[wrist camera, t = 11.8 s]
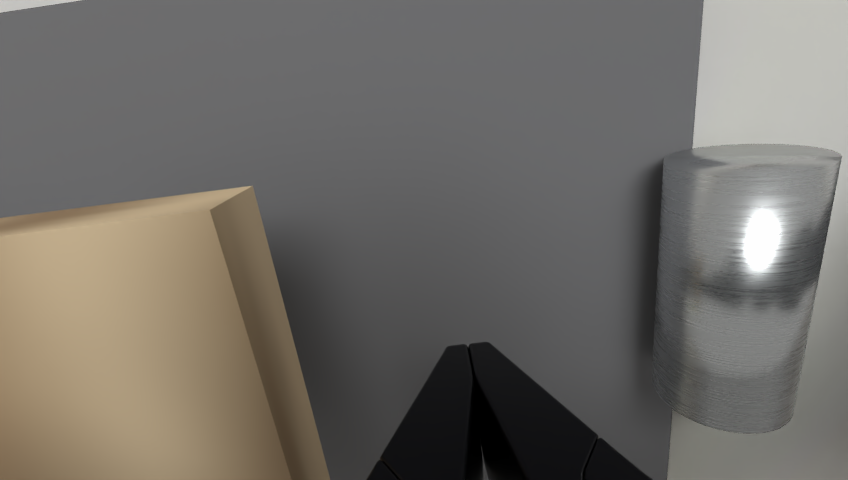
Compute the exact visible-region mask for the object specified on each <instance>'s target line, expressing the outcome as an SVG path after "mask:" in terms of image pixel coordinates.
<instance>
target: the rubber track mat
mask: <svg viewBox="0 0 848 480" xmlns="http://www.w3.org/2000/svg"><path fill="white" fill-rule="evenodd" d="M703 1H704V0H82V1H75V2H69V3H62V4H55V5H49V6H42V7H36V8H29V9H22V10H16V11H9V12H3V13H0V218H4V217H12V216H19V215H27V214H35V213H43V212H51V211H58V210H66V209H74V208H82V207H90V206H98V205H105V204H113V203H121V202H129V201H137V200H145V199H152V198H160V197H168V196H176V195H184V194H192V193H199V192H207V191H215V190H223V189H231V188H239V187H246V186H253V189H254V192H255V196H256V200H257V204H258V208H259V211H260V215H261V219H262V223H263V227H264V230H265V234H266V238H267V242H268V245H269V249H270V253H271V257H272V261H273V264H274V268H275V272H276V276H277V280H278V283H279V287H280V291H281V295H282V299H283V302H284V306H285V310H286V314H287V317H288V321H289V325H290V329H291V333H292V336H293V340H294V344H295V348H296V352H297V355H298V359H299V363H300V367H301V371H302V374H303V378H304V382H305V386H306V389H307V393H308V397H309V401H310V405H311V408H312V412H313V416H314V420H315V424H316V427H317V431H318V435H319V439H320V443H321V446H322V450H323V454H324V458H325V461H326V465H327V469H328V473H329V477H330V480H366V479H367V478H368V476H369V474H370V473H371V471H372V469H373V468H374V466H375V464H376V463H377V461H378V460H380V456H381V455H382V453H383V451H384V450H385V448H386V446H387V445H388V443H389V441H390V440H391V438H392V437H393V435H394V433H395V432H396V430H397V428H398V427H399V425H400V423H401V422H402V420H403V418H404V417H405V415H406V413H407V412H408V410H409V408H410V407H411V405H412V403H413V402H414V400H415V398H416V397H417V395H418V393H419V392H420V390H421V388H422V387H423V385H424V384H425V382H426V380H427V379H428V377H429V375H430V374H431V372H432V370H433V369H434V367H435V365H436V364H437V362H438V360H439V359H440V357H441V355H442V354H443V352H444V350H445V349H446V347H447V346H451V345H460V344H465V345H467V346H469V344H471V343H478V342H490V343H491V344H492V345H493V346H494V347H496V348H497V349H498V350H499V351H500V352H501V353H503V354H504V355H505V356H506V357H507V358H509V359H510V360H511V361H512V362H513V363H514V364H516V365H517V366H518V367H519V368H520V369H521V370H523V371H524V372H525V373H526V374H527V375H528V376H530V377H531V378H532V379H533V380H534V381H535V382H537V383H538V384H539V385H540V386H541V387H543V388H544V389H545V390H546V391H547V392H548V393H550V394H551V395H552V396H553V397H554V398H555V399H557V400H558V401H559V402H560V403H561V404H562V405H564V406H565V407H566V408H567V409H568V410H569V411H571V412H572V413H573V414H574V415H575V416H577V417H578V418H579V419H580V420H581V421H582V422H584V423H585V424H586V425H587V426H588V427H589V428H591V429H592V430H593V431H594V432H595V433H596V434H598V436H599V438H603V439H604V440H605V441H606V442H607V443H608V444H610V445H611V446H612V447H613V448H614V449H615V450H617V451H618V452H619V453H620V454H622V455H623V456H624V457H625V458H626V459H628V460H629V461H630V462H631V463H633V464H634V465H635V466H636V467H638V468H639V469H640V470H641V471H643V472H644V473H645V474H646V475H648V476H649V477H650V478H652V479H653V480H667V472H668V459H669V446H670V433H671V420H672V408H671V407H669V406H668V405H667V404H666V403H665V402H664V401H663V400H662V399H661V398H660V397H659V396H658V394H657V393H656V391H655V389H654V387H653V384H652V362H653V344H654V326H655V307H656V289H657V271H658V253H659V235H660V216H661V198H662V180H663V162H664V158H665V157H666V156H667V155H669V154H672V153H675V152H679V151H683V150H688V149H692V145H693V132H694V119H695V106H696V93H697V79H698V66H699V53H700V40H701V27H702V14H703ZM481 449H482V447H481ZM482 458H483V453H482ZM483 473H484V480H489V479H488V476H487V472H486V468H485V464H484V459H483Z"/></svg>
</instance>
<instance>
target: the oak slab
mask: <svg viewBox="0 0 848 480" xmlns="http://www.w3.org/2000/svg"><path fill="white" fill-rule="evenodd" d="M0 480H330V477H329V473H328V469H327V465H326V461H325V458H324V454H323V450H322V446H321V443H320V439H319V435H318V431H317V427H316V424H315V420H314V416H313V412H312V408H311V405H310V401H309V397H308V393H307V389H306V386H305V382H304V378H303V374H302V371H301V367H300V363H299V359H298V355H297V352H296V348H295V344H294V340H293V336H292V333H291V329H290V325H289V321H288V317H287V314H286V310H285V306H284V302H283V299H282V295H281V291H280V287H279V283H278V280H277V276H276V272H275V268H274V264H273V261H272V257H271V253H270V249H269V245H268V242H267V238H266V234H265V230H264V227H263V223H262V219H261V215H260V211H259V208H258V204H257V200H256V196H255V192H254V189H253V186H246V187H239V188H231V189H223V190H215V191H207V192H199V193H192V194H184V195H176V196H168V197H160V198H152V199H145V200H137V201H129V202H121V203H113V204H105V205H98V206H90V207H82V208H74V209H66V210H58V211H51V212H43V213H35V214H27V215H19V216H12V217H4V218H0Z"/></svg>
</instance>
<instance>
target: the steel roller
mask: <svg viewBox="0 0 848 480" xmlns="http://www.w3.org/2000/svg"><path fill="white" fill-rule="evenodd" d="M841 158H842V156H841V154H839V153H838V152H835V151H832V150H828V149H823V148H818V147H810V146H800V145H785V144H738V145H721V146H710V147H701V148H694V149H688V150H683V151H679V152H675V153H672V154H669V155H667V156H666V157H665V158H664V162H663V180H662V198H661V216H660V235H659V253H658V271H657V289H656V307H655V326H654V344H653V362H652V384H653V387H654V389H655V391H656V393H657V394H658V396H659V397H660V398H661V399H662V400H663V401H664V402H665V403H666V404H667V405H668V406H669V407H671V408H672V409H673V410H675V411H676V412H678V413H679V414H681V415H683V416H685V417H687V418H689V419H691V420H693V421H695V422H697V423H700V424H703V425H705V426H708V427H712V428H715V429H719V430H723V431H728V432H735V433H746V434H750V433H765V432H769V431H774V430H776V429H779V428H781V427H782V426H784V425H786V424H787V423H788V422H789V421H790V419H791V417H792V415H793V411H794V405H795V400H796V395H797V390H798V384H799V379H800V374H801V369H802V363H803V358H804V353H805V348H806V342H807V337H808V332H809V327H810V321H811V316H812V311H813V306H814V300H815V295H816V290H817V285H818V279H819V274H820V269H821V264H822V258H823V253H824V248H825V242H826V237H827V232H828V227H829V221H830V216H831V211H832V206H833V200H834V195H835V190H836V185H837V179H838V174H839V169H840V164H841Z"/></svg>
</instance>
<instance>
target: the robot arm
mask: <svg viewBox="0 0 848 480" xmlns="http://www.w3.org/2000/svg"><path fill="white" fill-rule="evenodd" d="M481 447H482V449H481ZM482 453H483V458H482ZM483 459H484V464H485V468H486V472H487V476H488V479H489V480H653V479H652V478H650V477H649V476H648V475H646V474H645V473H644V472H643V471H641V470H640V469H639V468H638V467H636V466H635V465H634V464H633V463H631V462H630V461H629V460H628V459H626V458H625V457H624V456H623V455H622V454H620V453H619V452H618V451H617V450H615V449H614V448H613V447H612V446H611V445H610V444H608V443H607V442H606V441H605V440H604V439H603V438H599V436H598V434H596V433H595V432H594V431H593V430H592V429H591V428H589V427H588V426H587V425H586V424H585V423H584V422H582V421H581V420H580V419H579V418H578V417H577V416H575V415H574V414H573V413H572V412H571V411H569V410H568V409H567V408H566V407H565V406H564V405H562V404H561V403H560V402H559V401H558V400H557V399H555V398H554V397H553V396H552V395H551V394H550V393H548V392H547V391H546V390H545V389H544V388H543V387H541V386H540V385H539V384H538V383H537V382H535V381H534V380H533V379H532V378H531V377H530V376H528V375H527V374H526V373H525V372H524V371H523V370H521V369H520V368H519V367H518V366H517V365H516V364H514V363H513V362H512V361H511V360H510V359H509V358H507V357H506V356H505V355H504V354H503V353H501V352H500V351H499V350H498V349H497V348H496V347H494V346H493V345H492V344H491V343H490V342H478V343H471V344H469V346H467V345H465V344H460V345H451V346H447V347H446V349H445V350H444V352H443V354H442V355H441V357H440V359H439V360H438V362H437V364H436V365H435V367H434V369H433V370H432V372H431V374H430V375H429V377H428V379H427V380H426V382H425V384H424V385H423V387H422V388H421V390H420V392H419V393H418V395H417V397H416V398H415V400H414V402H413V403H412V405H411V407H410V408H409V410H408V412H407V413H406V415H405V417H404V418H403V420H402V422H401V423H400V425H399V427H398V428H397V430H396V432H395V433H394V435H393V437H392V438H391V440H390V441H389V443H388V445H387V446H386V448H385V450H384V451H383V453H382V455H381V456H380V460H378V461H377V463H376V464H375V466H374V468H373V469H372V471H371V473H370V474H369V476H368V478H367V479H366V480H484V473H483Z"/></svg>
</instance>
